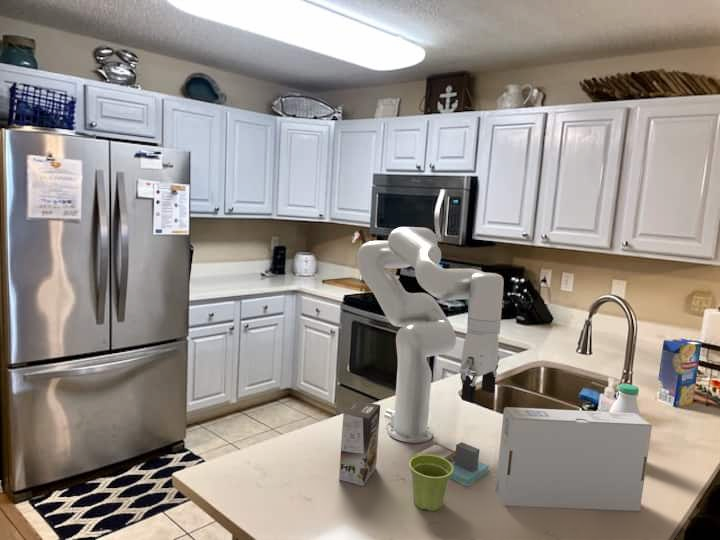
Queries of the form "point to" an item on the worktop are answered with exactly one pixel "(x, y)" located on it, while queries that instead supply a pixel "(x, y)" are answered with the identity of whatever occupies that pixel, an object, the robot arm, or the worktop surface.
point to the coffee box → (359, 442)
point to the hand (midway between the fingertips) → (478, 396)
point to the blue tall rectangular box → (678, 372)
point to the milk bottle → (626, 400)
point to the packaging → (572, 459)
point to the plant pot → (429, 480)
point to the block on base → (467, 464)
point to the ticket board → (439, 452)
